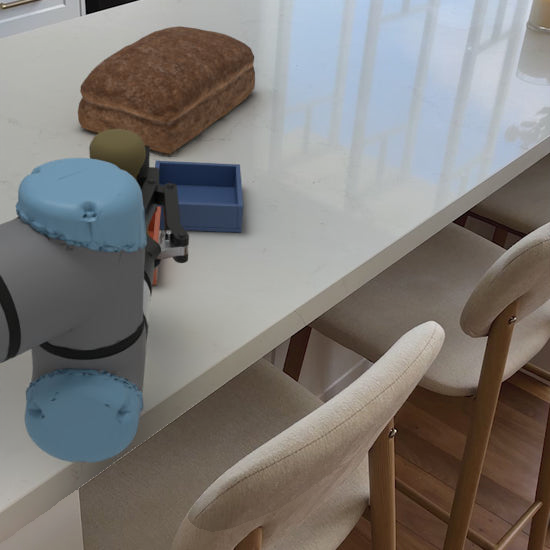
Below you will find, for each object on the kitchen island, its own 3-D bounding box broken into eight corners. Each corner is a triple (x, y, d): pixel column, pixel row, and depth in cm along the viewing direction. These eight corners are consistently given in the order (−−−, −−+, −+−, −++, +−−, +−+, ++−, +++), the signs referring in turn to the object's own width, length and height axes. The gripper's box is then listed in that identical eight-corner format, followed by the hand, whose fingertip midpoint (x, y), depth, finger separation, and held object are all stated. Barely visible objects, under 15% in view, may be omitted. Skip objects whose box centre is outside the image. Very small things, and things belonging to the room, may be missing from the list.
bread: (71, 130, 131) (68, 56, 124) (173, 69, 153) (175, 4, 147) (171, 161, 126) (173, 84, 119) (261, 93, 148) (267, 26, 142)
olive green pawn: (94, 256, 85) (91, 153, 78) (81, 224, 89) (77, 123, 83) (156, 248, 87) (158, 147, 81) (140, 216, 91) (141, 118, 85)
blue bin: (151, 229, 110) (151, 202, 108) (155, 185, 119) (155, 160, 117) (241, 232, 111) (243, 206, 109) (238, 189, 121) (240, 164, 118)
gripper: (2, 327, 71) (46, 185, 90) (204, 334, 73) (205, 193, 92) (-7, 249, 67) (41, 117, 86) (208, 258, 69) (208, 126, 88)
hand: (126, 156), depth 89 cm, fingers closed on olive green pawn, 3 cm apart
